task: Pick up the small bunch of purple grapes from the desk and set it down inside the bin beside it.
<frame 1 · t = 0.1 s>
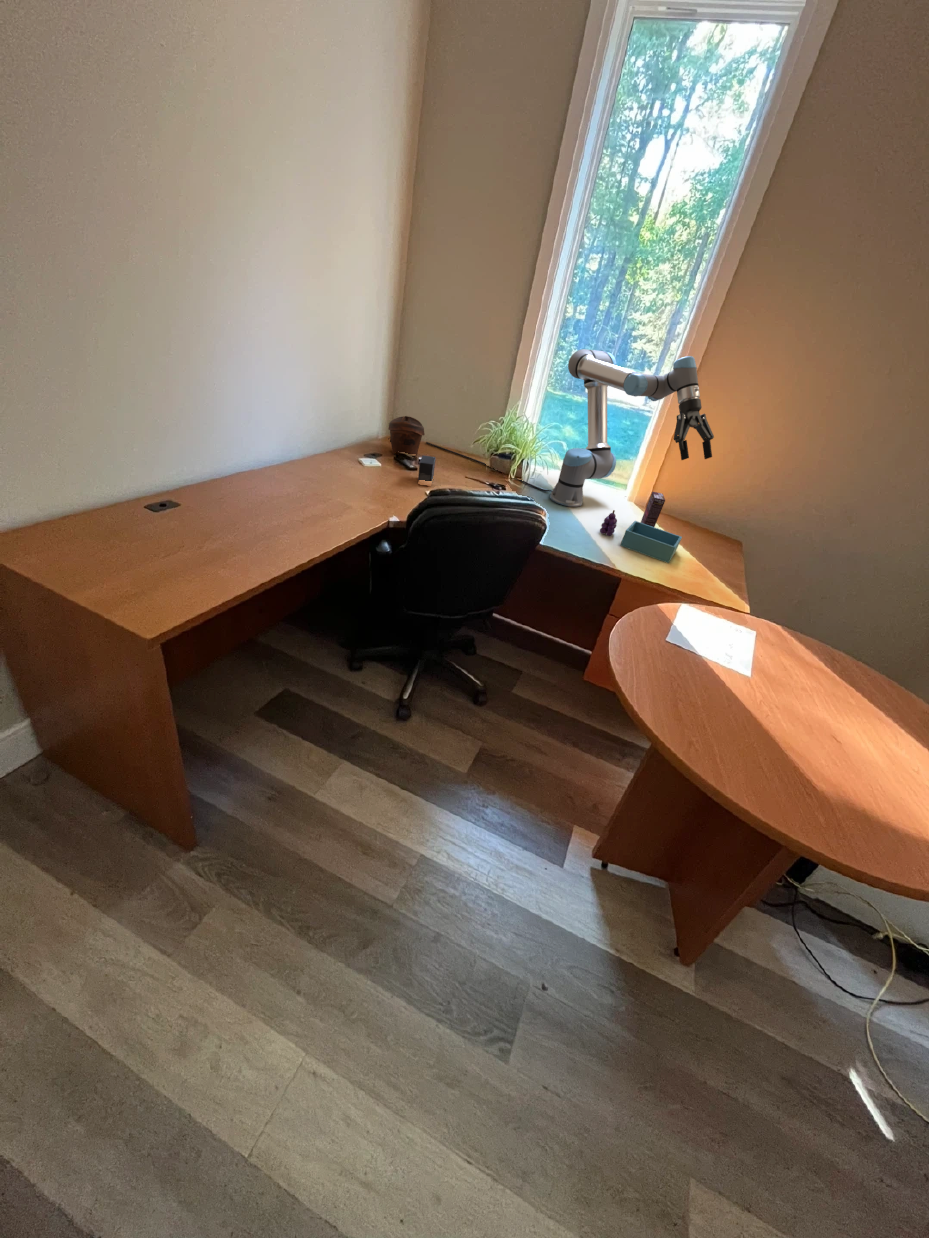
hand: (697, 458, 184), 36 cm above the table, tool tilted 35°, fingers open, 13 cm apart
supplement box: (645, 530, 214), on the table
small box: (425, 482, 223), on the table
bin: (648, 548, 198), on the table
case: (404, 454, 252), on the table
grapes: (606, 533, 205), on the table
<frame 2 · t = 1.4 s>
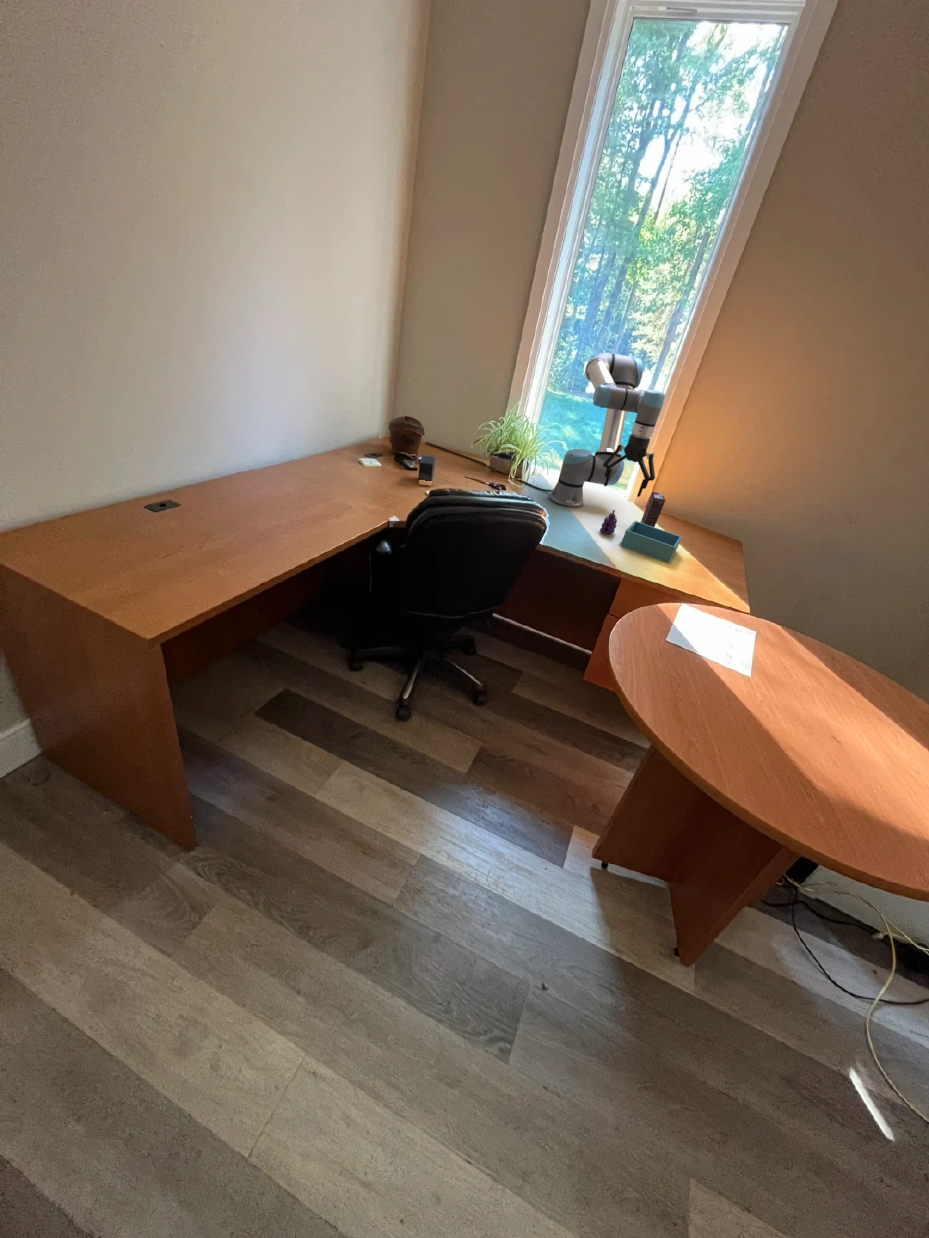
hand: (622, 490, 194), 19 cm above the table, tool pointing down, fingers open, 13 cm apart
nothing on the table moved.
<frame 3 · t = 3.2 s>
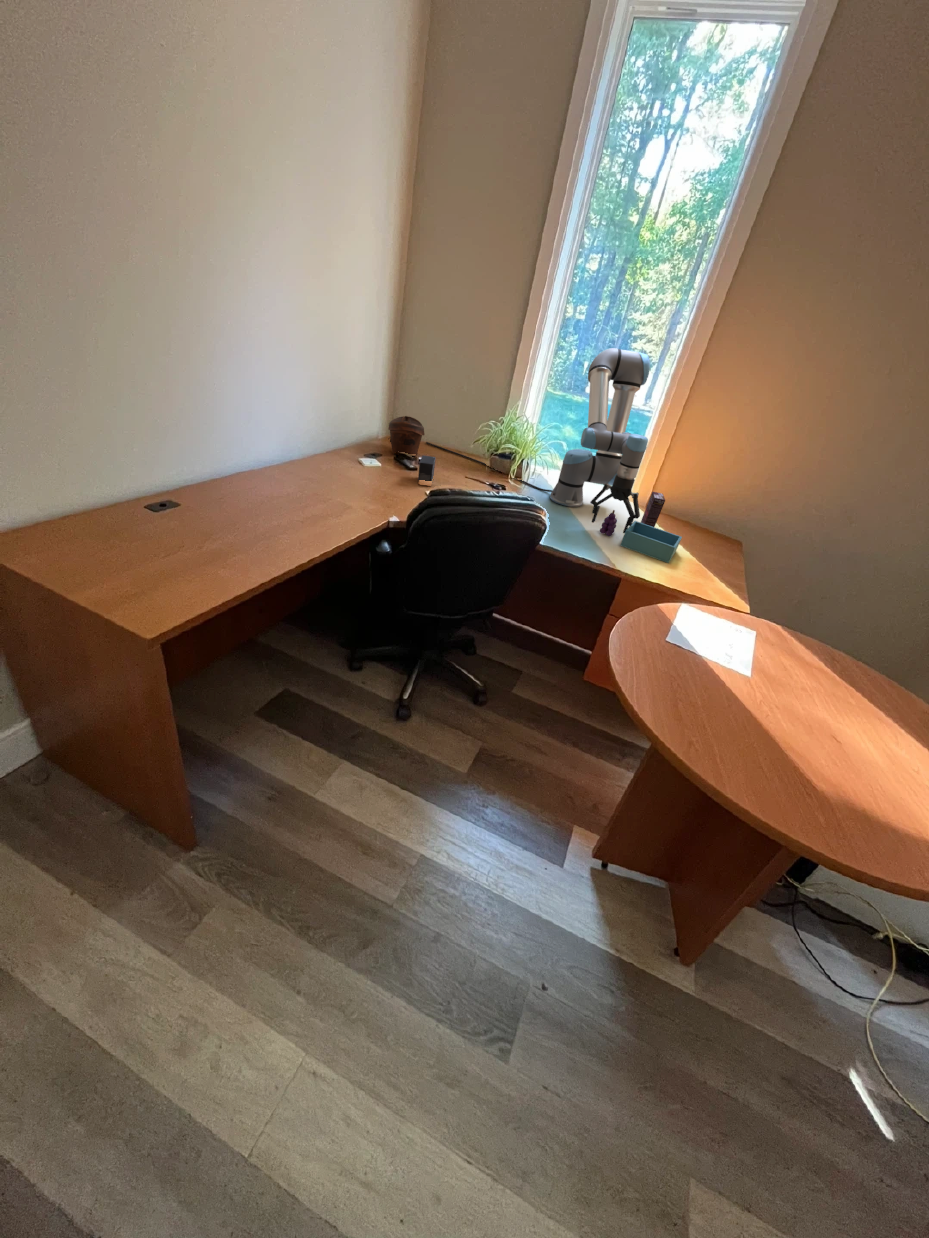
hand: (608, 526, 202), 3 cm above the table, tool pointing down, fingers open, 13 cm apart
nothing on the table moved.
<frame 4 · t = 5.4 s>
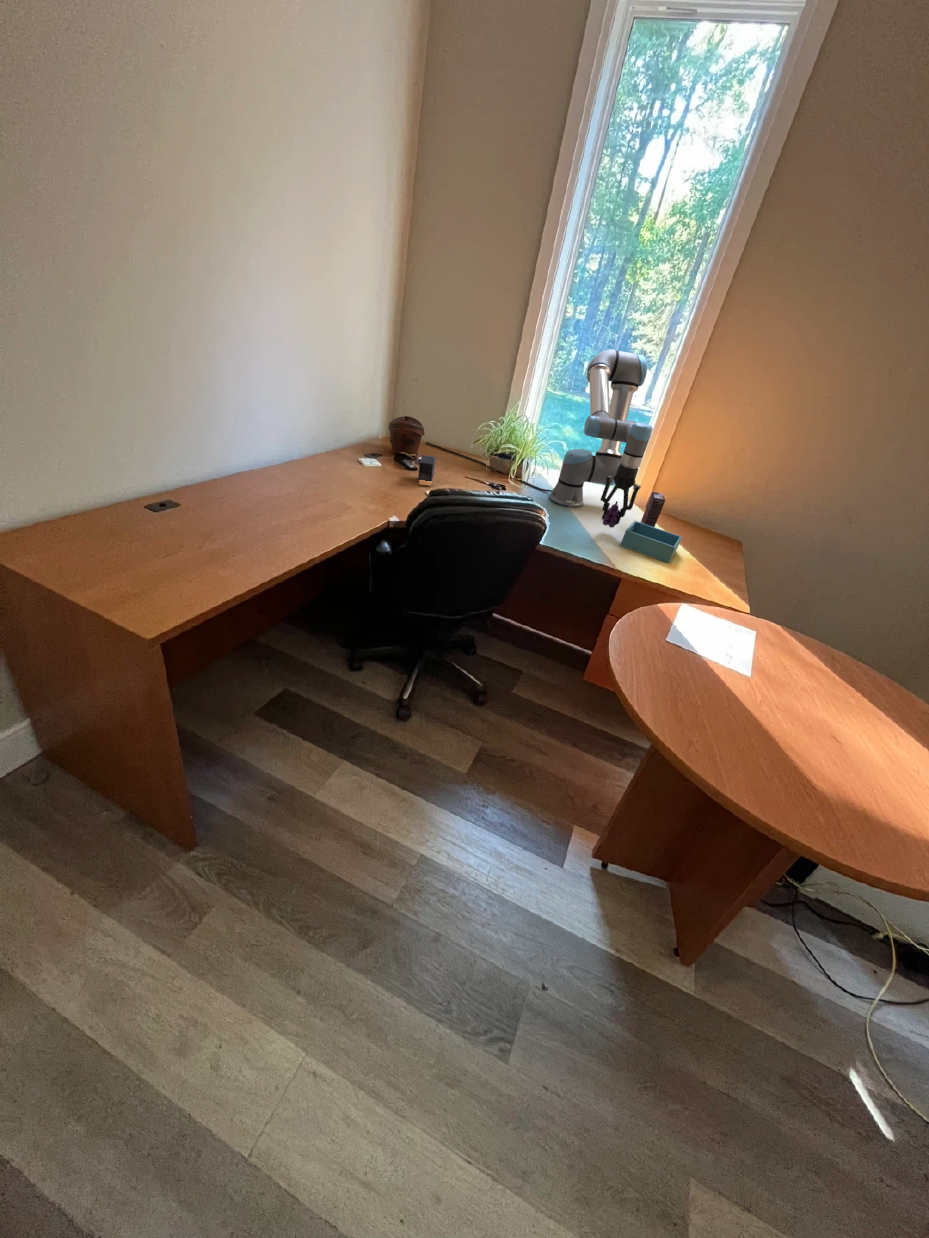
hand: (610, 520, 202), 6 cm above the table, tool pointing down, fingers closed on grapes, 5 cm apart
grapes: (608, 525, 203), point 4 cm above the table, touching gripper
everything else where it was.
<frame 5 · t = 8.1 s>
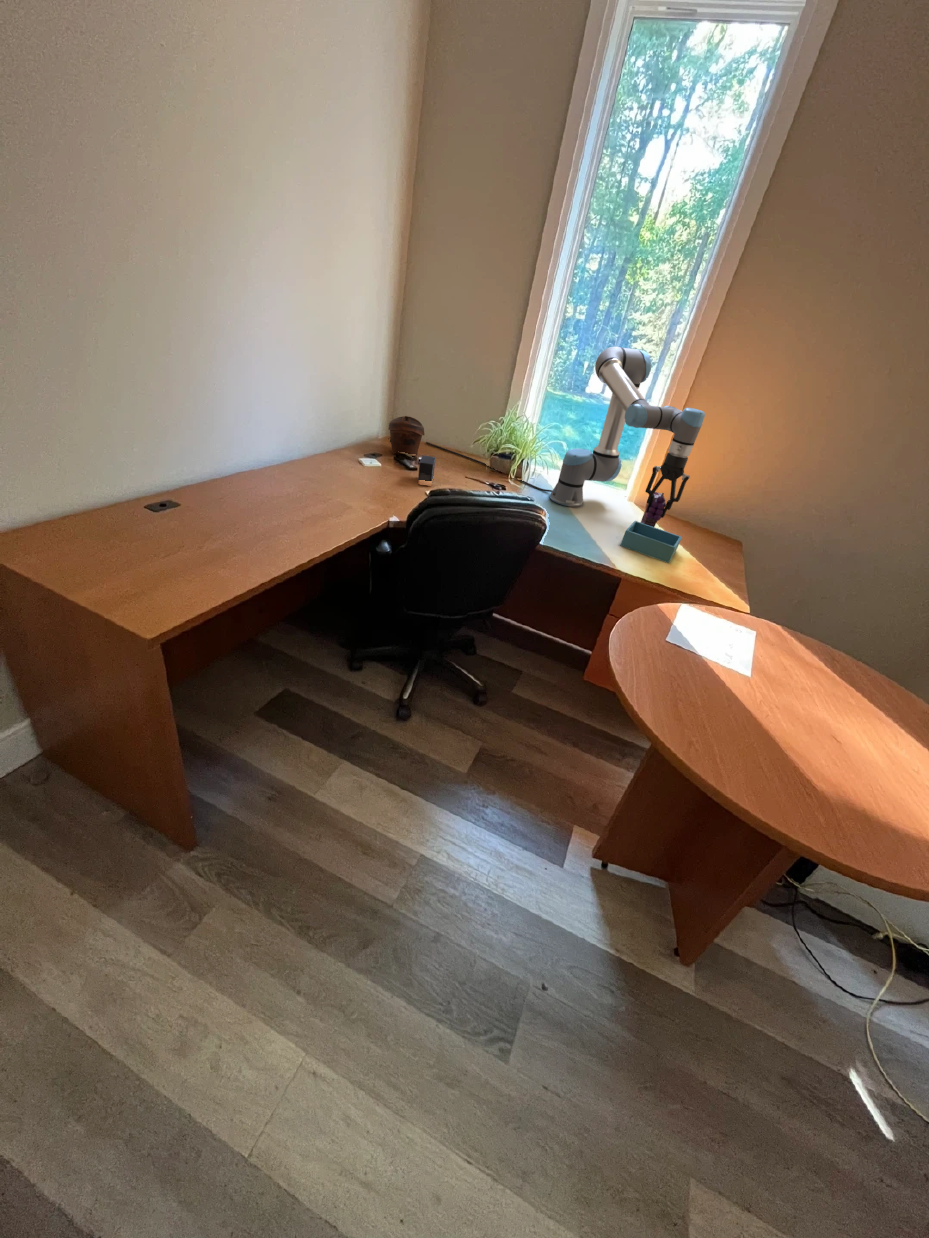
hand: (655, 514, 191), 14 cm above the table, tool pointing down, fingers closed on grapes, 5 cm apart
grapes: (653, 518, 192), point 12 cm above the table, touching gripper
everything else where it was.
when the fingers open (3 cm above the table, at t = 10.9 s): grapes stays where it is, resting on bin.
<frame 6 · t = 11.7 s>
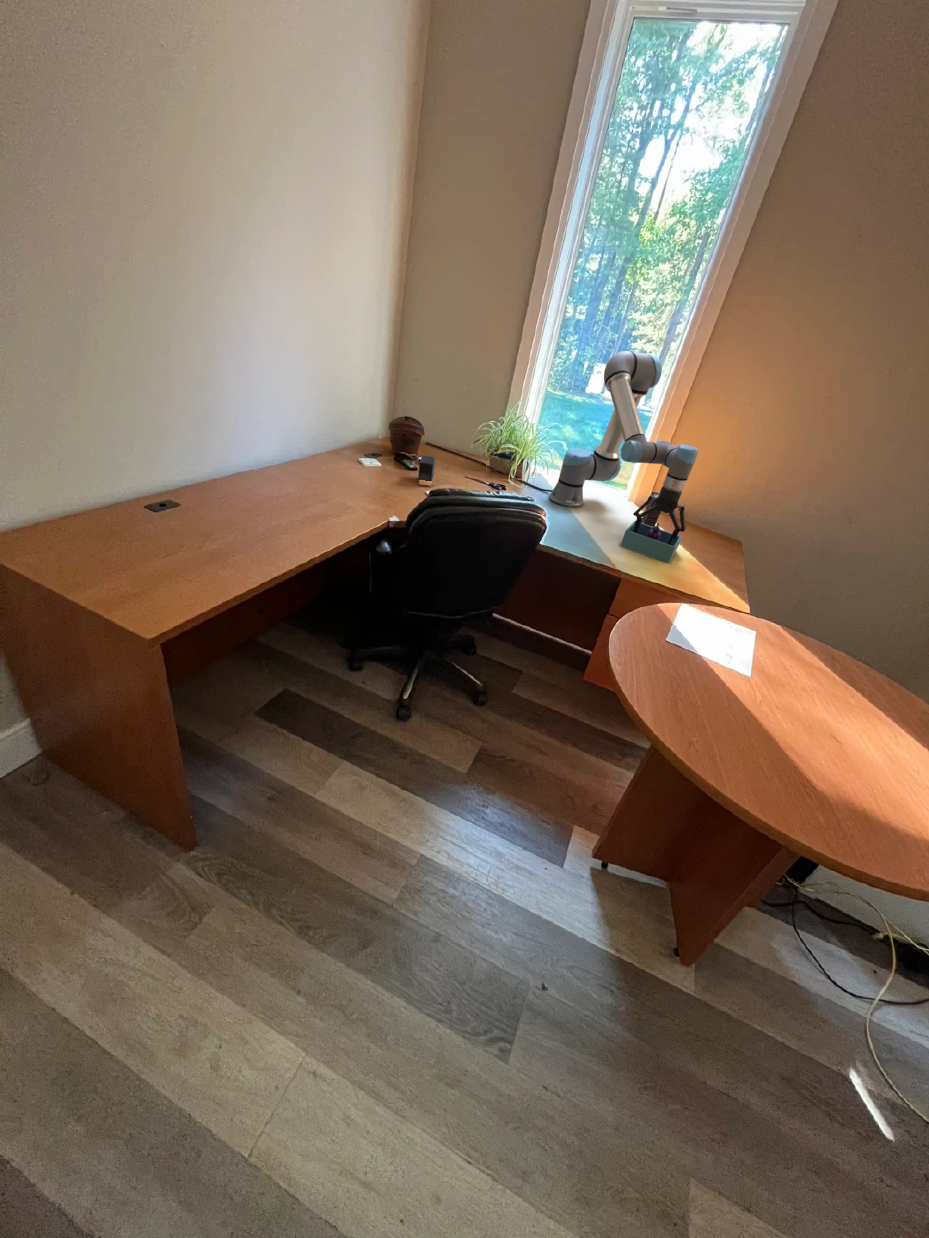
hand: (651, 539, 196), 4 cm above the table, tool pointing down, fingers open, 13 cm apart
grapes: (648, 547, 198), point 1 cm above the table, touching bin
everything else where it was.
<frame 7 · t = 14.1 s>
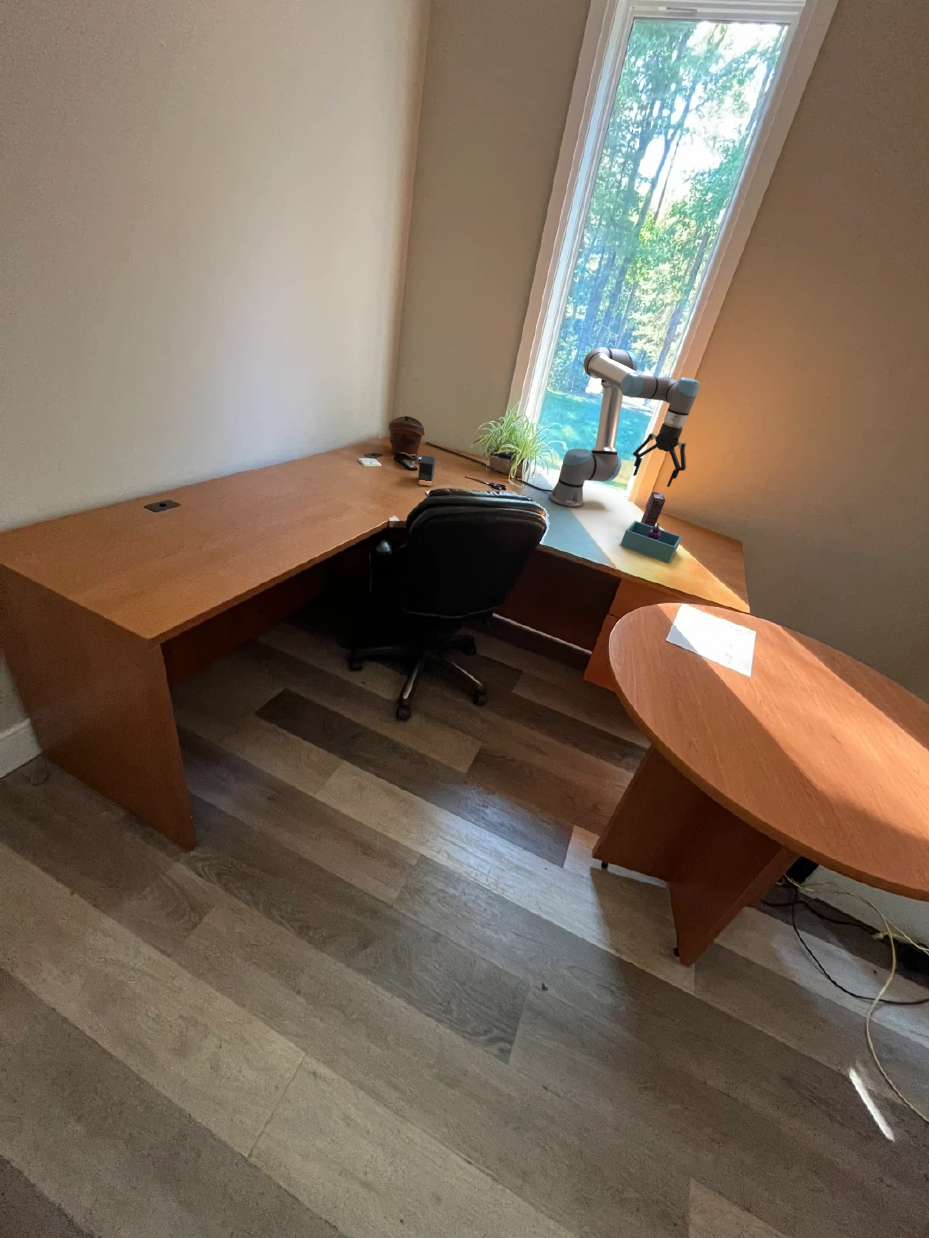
hand: (651, 480, 192), 24 cm above the table, tool pointing down, fingers open, 13 cm apart
nothing on the table moved.
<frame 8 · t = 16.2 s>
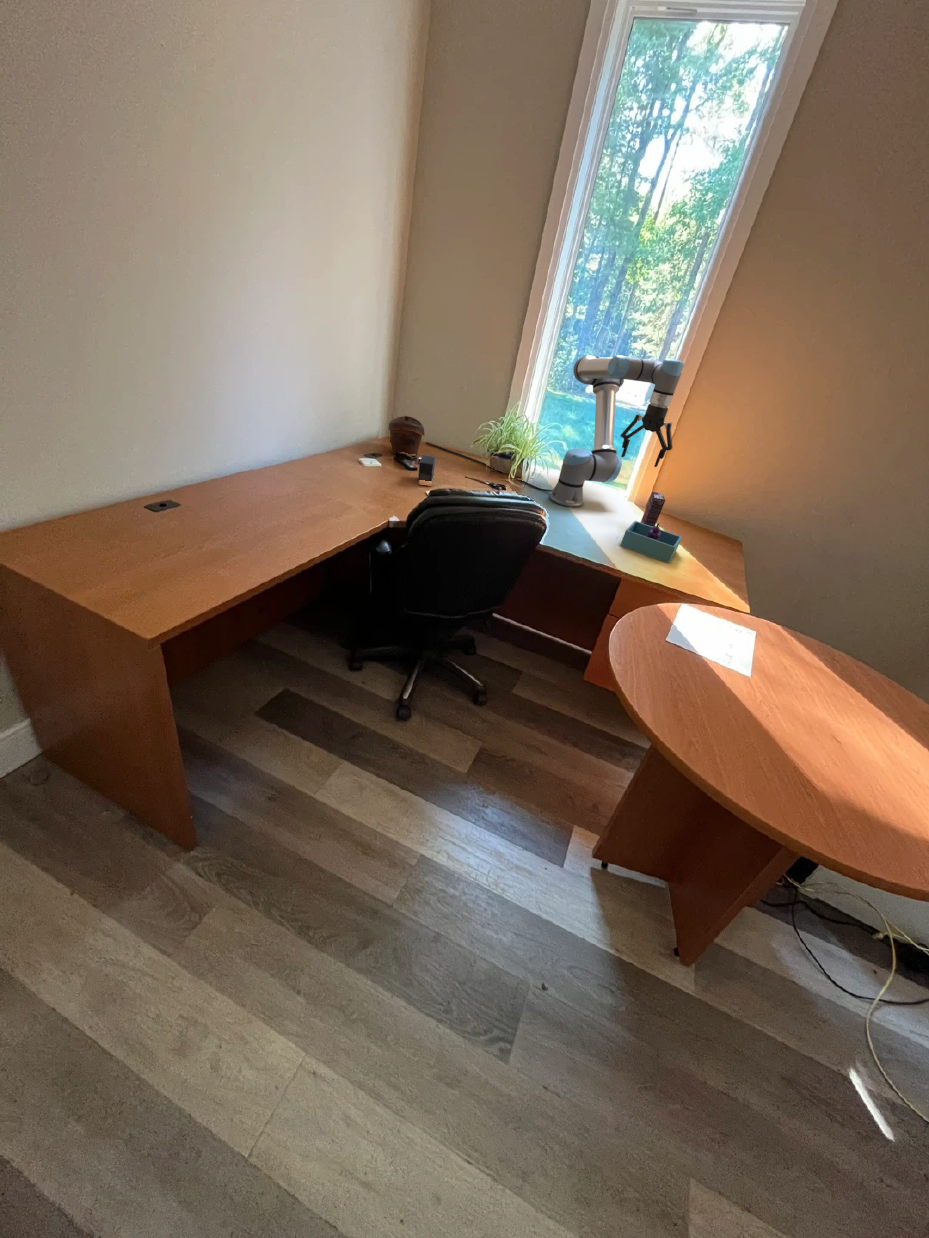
hand: (639, 461, 196), 29 cm above the table, tool pointing down, fingers open, 13 cm apart
nothing on the table moved.
at the end: grapes inside the target area in the bin (0.1 cm from its centre), point 0.8 cm above the bin's base; the gripper is holding nothing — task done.
